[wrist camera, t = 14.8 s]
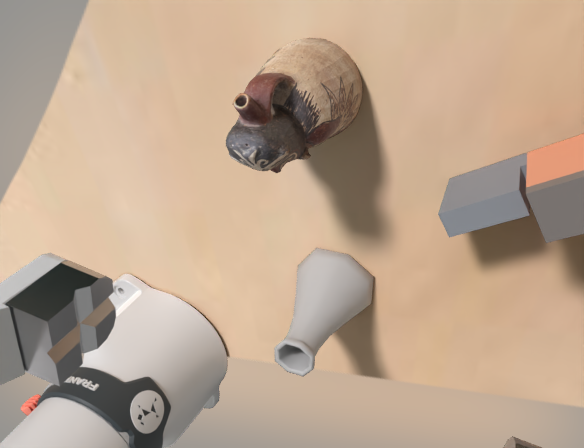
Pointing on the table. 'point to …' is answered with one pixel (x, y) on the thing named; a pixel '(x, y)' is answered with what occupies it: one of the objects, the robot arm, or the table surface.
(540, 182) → the block
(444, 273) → the table surface
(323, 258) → the flask
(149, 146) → the table surface
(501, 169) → the bracket
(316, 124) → the figurine
